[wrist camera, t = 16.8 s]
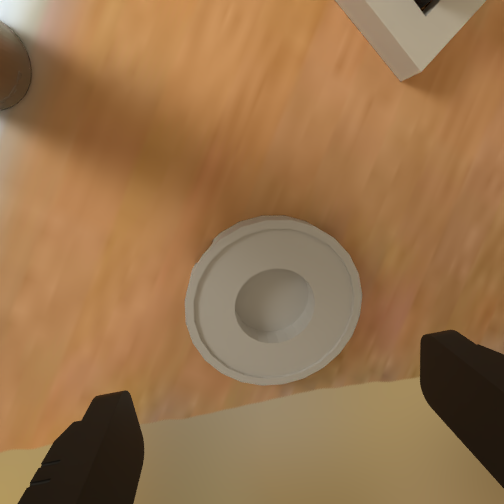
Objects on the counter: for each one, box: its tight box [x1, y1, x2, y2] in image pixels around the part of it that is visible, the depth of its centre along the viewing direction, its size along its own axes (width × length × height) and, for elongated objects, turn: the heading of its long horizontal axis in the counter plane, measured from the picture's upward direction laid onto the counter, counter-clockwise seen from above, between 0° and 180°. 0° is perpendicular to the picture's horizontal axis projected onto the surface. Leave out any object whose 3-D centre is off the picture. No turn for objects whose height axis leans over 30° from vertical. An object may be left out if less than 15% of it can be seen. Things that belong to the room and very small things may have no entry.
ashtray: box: [185, 216, 362, 385], centre depth 42 cm, size 23×23×4 cm
